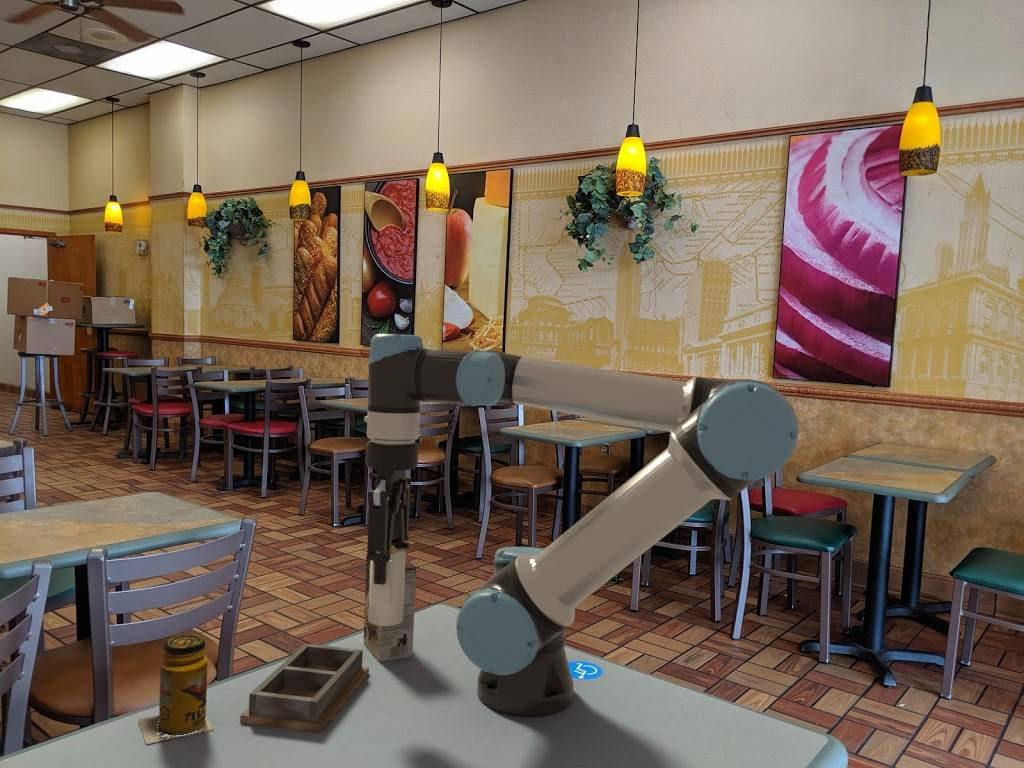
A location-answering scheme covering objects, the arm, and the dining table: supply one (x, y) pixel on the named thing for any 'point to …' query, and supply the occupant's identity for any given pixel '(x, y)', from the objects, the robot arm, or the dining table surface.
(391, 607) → the cylinder
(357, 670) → the grey wooden tray
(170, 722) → the condiment
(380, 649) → the coffee box
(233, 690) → the dining table surface
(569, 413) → the robot arm
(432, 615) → the dining table surface
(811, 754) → the dining table surface
